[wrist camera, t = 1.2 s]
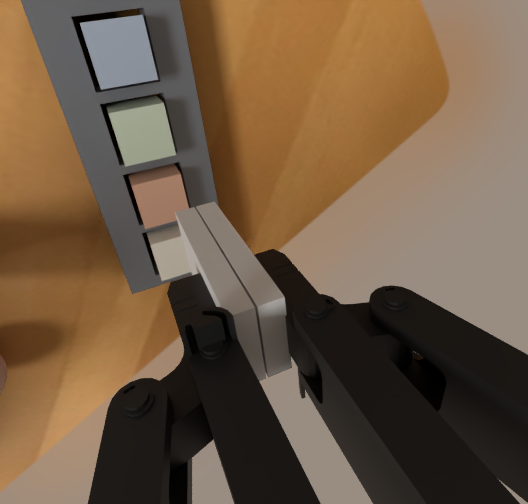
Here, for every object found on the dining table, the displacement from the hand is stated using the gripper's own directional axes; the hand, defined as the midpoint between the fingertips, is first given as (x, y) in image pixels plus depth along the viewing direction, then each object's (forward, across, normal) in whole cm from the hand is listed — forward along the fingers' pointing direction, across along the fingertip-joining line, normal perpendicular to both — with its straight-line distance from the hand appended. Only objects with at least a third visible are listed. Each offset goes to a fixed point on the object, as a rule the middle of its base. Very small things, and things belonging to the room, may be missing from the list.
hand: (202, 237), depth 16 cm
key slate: (+21, 0, +6) cm, 22 cm away
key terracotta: (+21, 0, -6) cm, 22 cm away
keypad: (+22, 0, -3) cm, 22 cm away
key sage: (+21, 0, 0) cm, 21 cm away
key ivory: (+21, 0, -11) cm, 24 cm away
